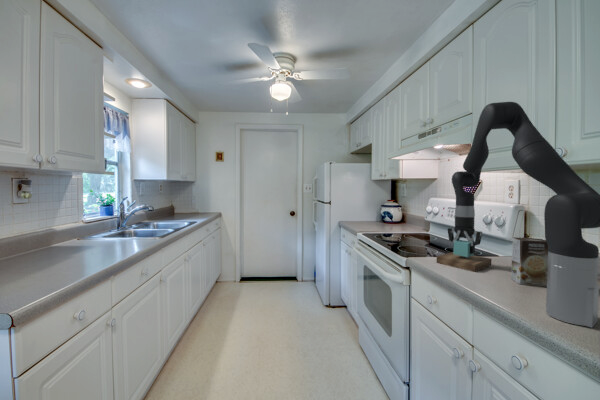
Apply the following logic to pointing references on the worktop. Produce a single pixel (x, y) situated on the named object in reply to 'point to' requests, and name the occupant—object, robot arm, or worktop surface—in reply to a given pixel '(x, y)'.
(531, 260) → the coffee box
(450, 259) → the walnut stand
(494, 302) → the worktop surface
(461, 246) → the teal cube
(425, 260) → the worktop surface
